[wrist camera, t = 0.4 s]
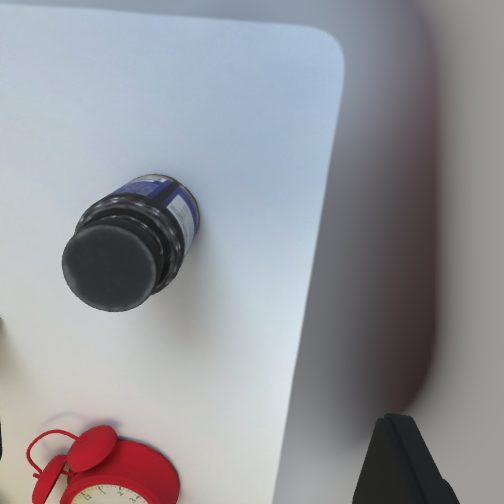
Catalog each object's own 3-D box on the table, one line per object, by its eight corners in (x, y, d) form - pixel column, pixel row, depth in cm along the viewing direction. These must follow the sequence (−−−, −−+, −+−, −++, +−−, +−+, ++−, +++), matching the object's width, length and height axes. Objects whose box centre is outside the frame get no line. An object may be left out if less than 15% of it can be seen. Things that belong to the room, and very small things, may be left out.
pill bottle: (106, 229, 31) (27, 292, 21) (137, 157, 29) (69, 185, 19) (180, 266, 32) (141, 344, 22) (215, 198, 30) (191, 246, 20)
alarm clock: (127, 580, 39) (-27, 530, 32) (134, 511, 44) (4, 456, 37) (206, 528, 36) (56, 462, 30) (204, 462, 42) (77, 393, 35)
